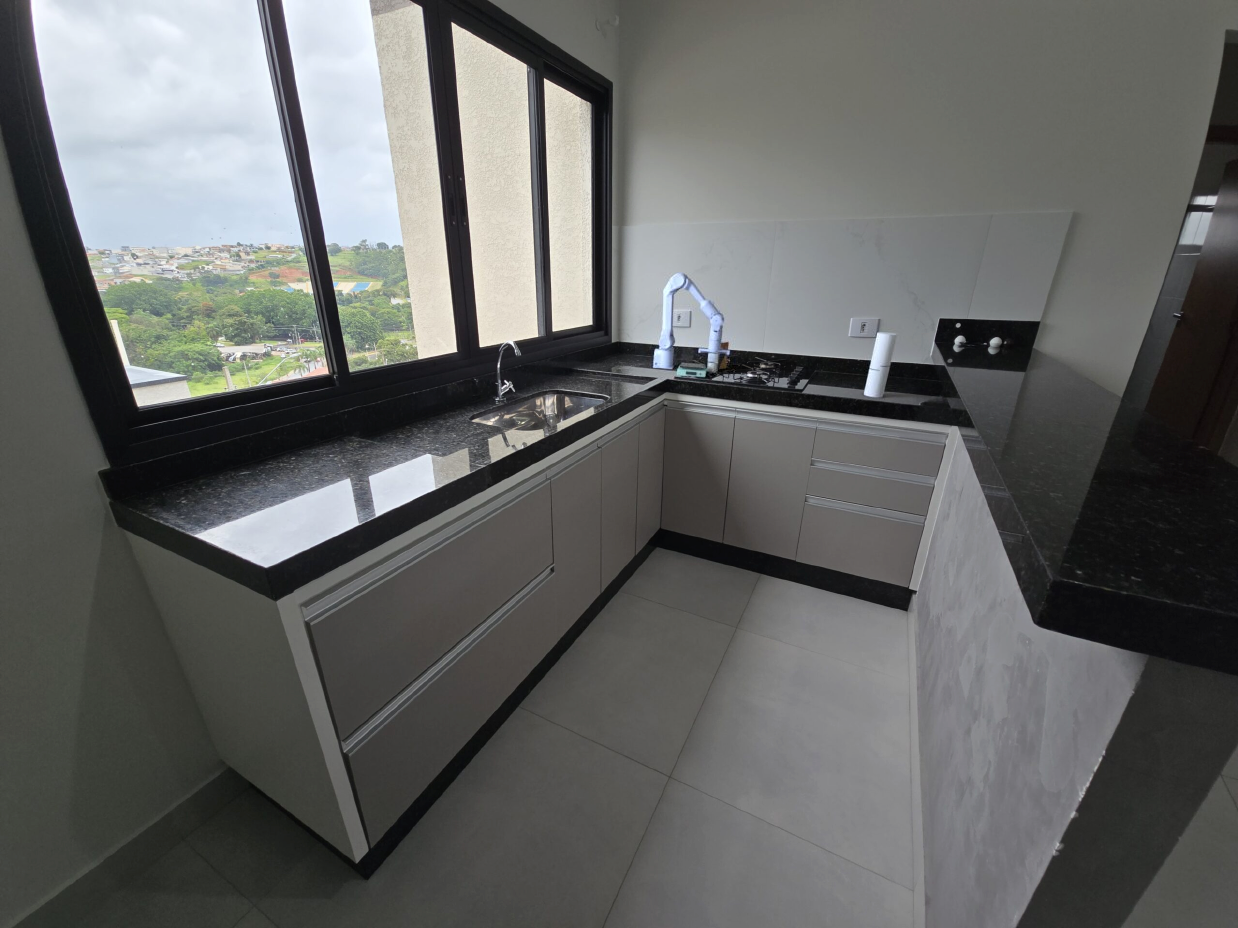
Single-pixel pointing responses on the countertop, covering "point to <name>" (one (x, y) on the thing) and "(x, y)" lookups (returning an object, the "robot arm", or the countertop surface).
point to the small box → (716, 356)
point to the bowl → (712, 367)
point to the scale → (692, 372)
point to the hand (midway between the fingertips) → (712, 368)
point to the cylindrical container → (880, 364)
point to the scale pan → (692, 365)
